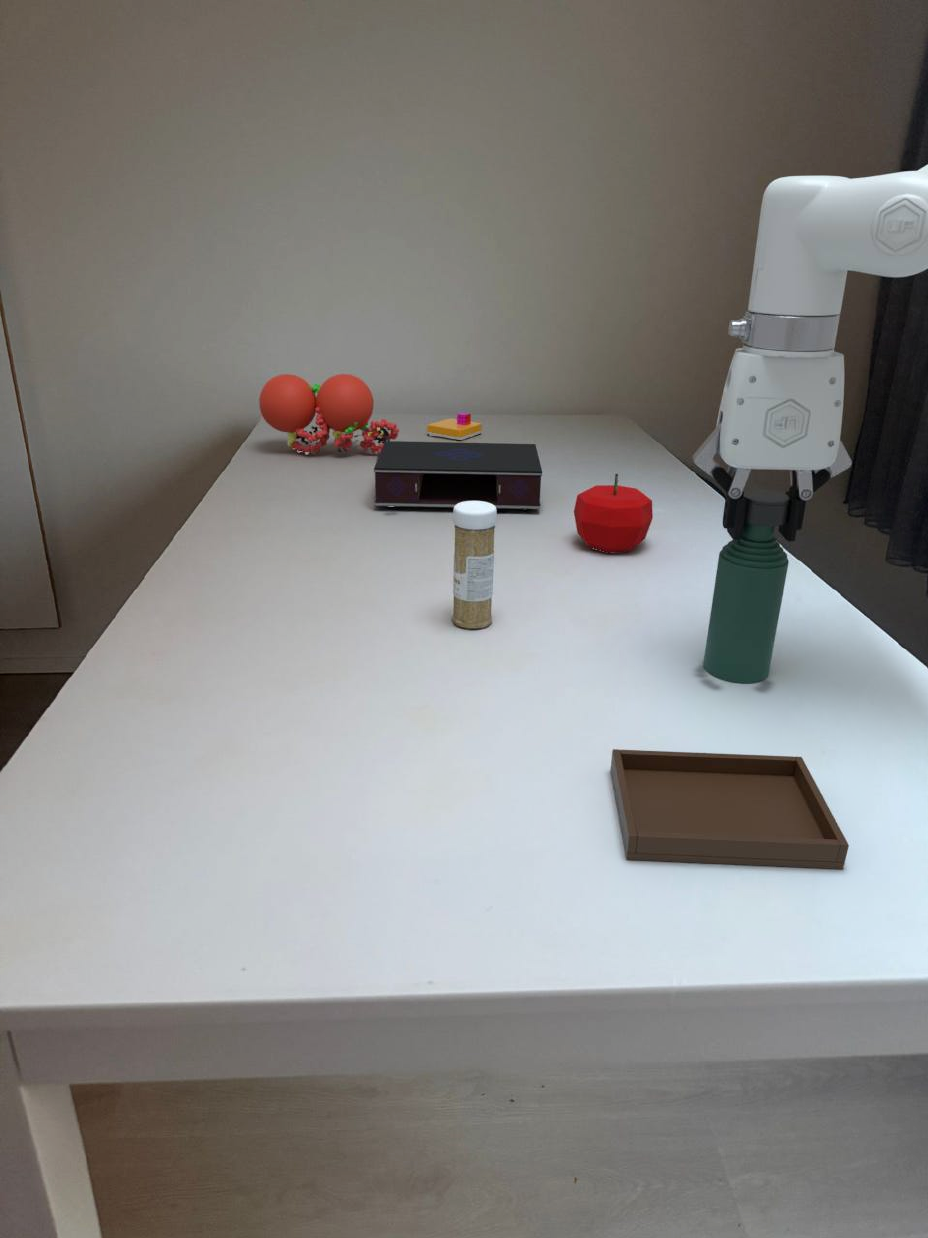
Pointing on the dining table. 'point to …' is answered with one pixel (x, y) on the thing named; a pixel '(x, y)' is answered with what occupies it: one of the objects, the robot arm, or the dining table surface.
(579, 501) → the apple
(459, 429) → the orange slab with cube
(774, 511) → the flask cap
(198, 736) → the dining table surface
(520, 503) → the low media console
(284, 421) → the molecule
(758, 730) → the dining table surface
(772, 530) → the flask
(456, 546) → the spice jar
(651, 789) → the tray
